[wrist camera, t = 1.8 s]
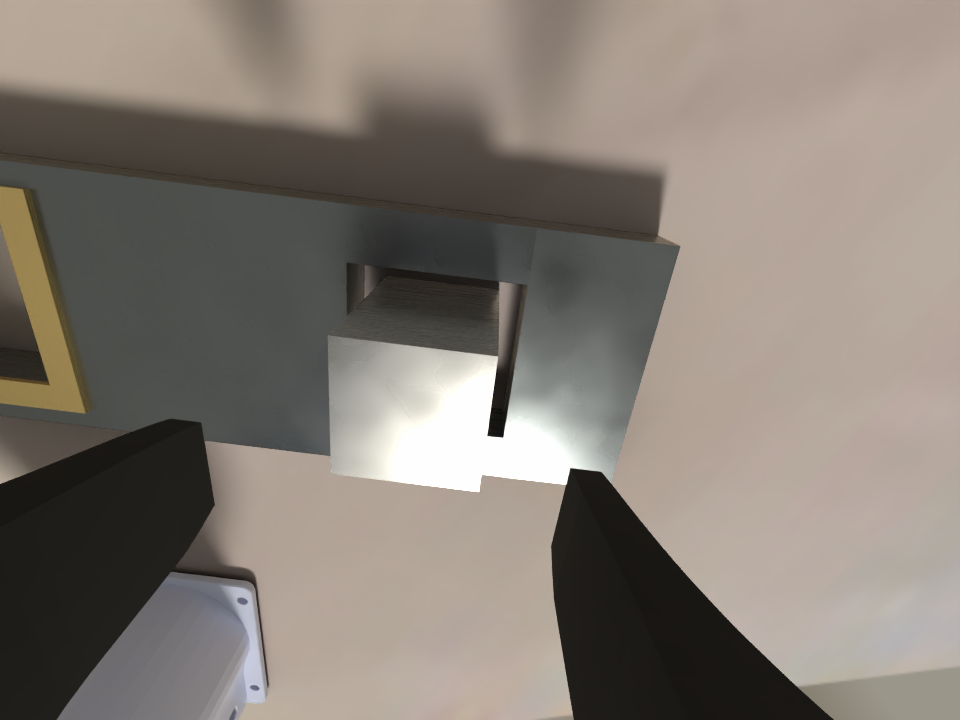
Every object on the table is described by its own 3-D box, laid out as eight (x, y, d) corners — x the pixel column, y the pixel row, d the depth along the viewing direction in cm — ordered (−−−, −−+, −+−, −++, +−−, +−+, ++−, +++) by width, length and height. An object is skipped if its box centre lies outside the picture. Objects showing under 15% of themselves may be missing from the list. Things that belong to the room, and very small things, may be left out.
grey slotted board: (598, 457, 19) (610, 493, 17) (-129, 368, 18) (-207, 393, 16) (658, 235, 15) (682, 247, 13) (-248, 121, 15) (-366, 115, 13)
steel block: (485, 388, 18) (478, 491, 12) (384, 376, 18) (330, 473, 12) (499, 289, 16) (498, 356, 10) (387, 275, 16) (327, 335, 10)
